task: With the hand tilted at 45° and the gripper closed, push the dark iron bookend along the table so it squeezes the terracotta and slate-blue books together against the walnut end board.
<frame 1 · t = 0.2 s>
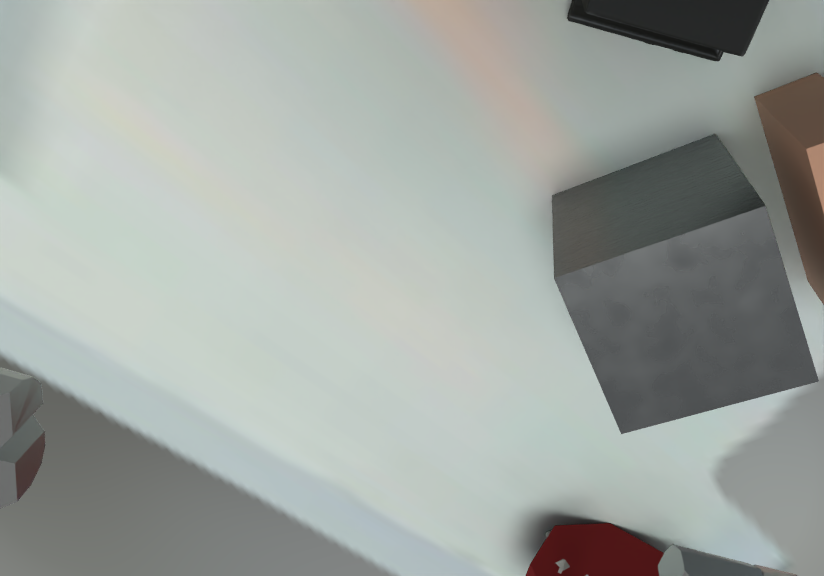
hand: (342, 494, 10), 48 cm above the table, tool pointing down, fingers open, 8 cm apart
iron bookend: (656, 236, 58), on the table
alarm clock: (603, 535, 72), on the table
terracotta book: (811, 183, 55), on the table
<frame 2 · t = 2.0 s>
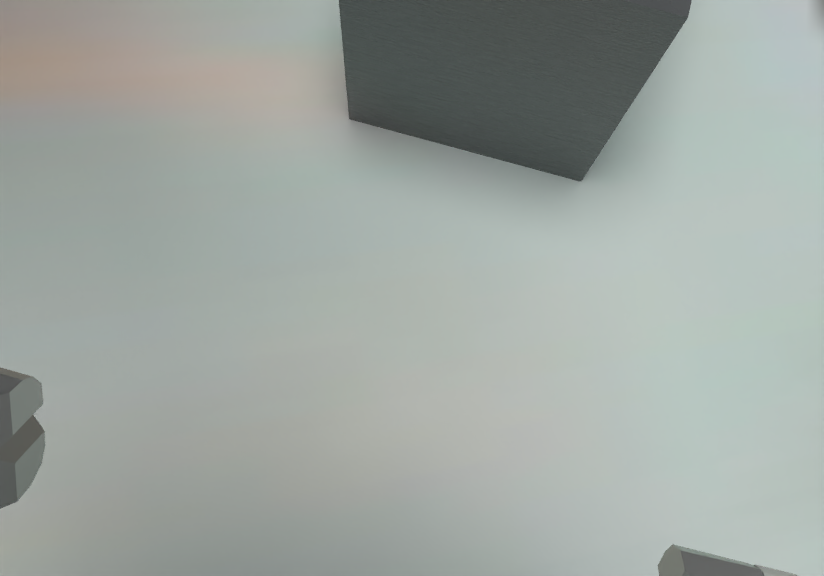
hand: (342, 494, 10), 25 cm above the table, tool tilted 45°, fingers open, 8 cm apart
iron bookend: (493, 48, 40), on the table
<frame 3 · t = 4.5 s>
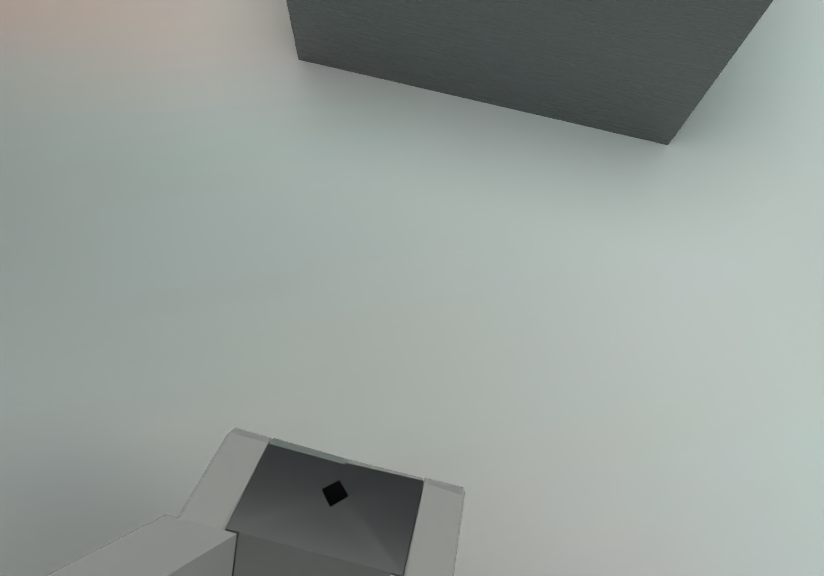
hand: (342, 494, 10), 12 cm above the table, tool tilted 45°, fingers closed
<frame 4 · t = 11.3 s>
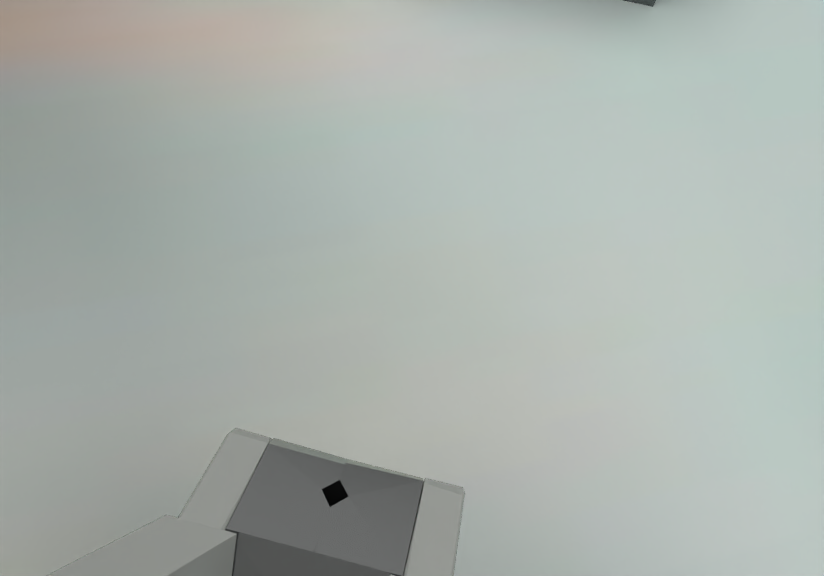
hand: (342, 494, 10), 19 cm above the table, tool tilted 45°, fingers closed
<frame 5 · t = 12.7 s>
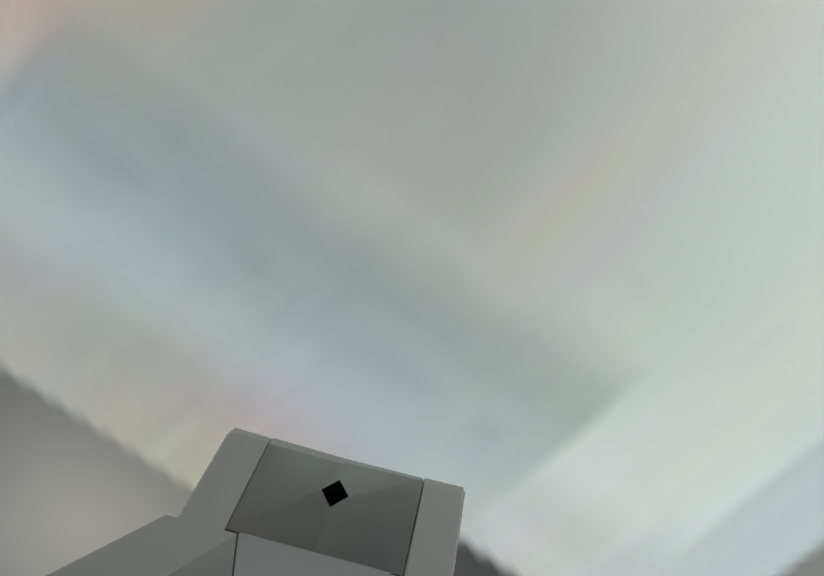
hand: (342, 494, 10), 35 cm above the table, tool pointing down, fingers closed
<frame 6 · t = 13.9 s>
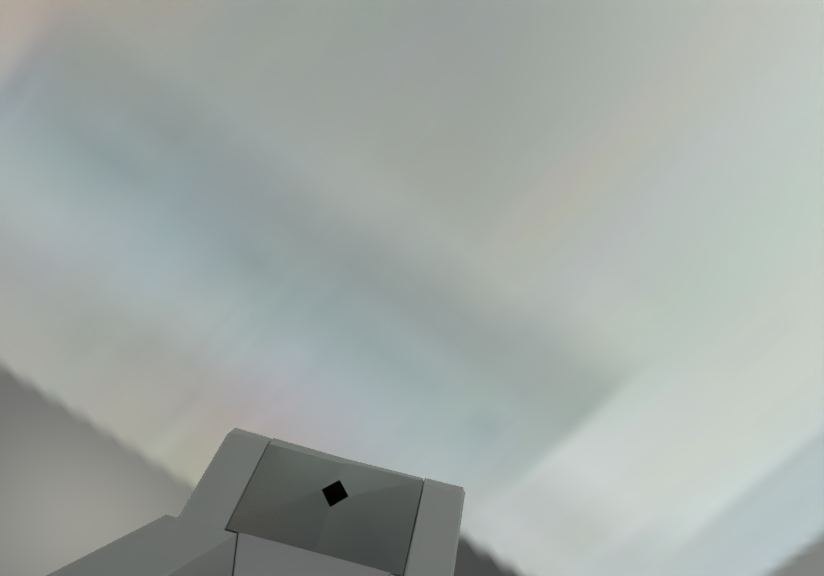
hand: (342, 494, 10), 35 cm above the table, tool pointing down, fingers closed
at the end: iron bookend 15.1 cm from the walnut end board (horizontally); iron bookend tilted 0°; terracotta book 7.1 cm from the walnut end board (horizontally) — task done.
